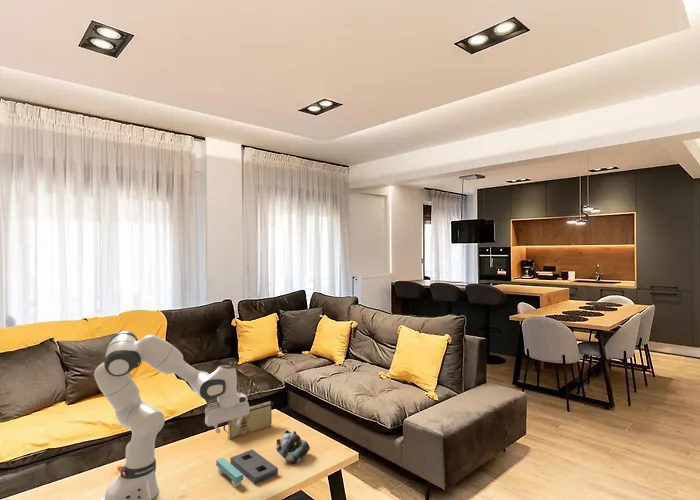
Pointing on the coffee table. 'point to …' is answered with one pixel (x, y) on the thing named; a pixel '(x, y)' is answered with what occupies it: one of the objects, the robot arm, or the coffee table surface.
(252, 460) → the hole plate
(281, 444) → the lucky cat figurine
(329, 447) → the coffee table surface
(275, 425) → the coffee table surface
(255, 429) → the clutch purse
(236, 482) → the peg strip
